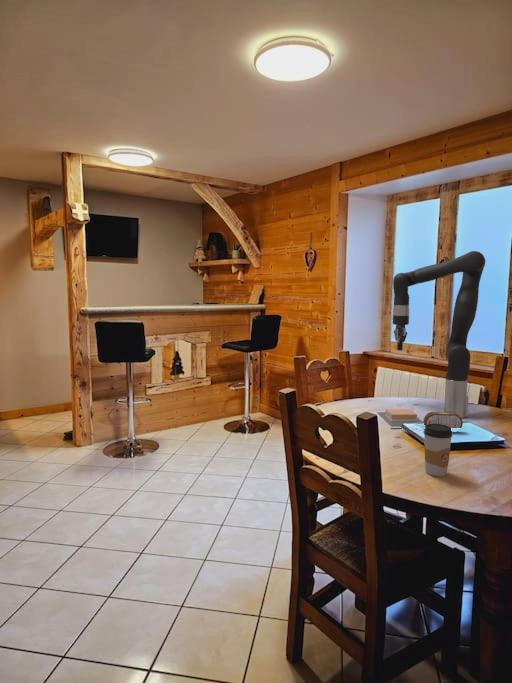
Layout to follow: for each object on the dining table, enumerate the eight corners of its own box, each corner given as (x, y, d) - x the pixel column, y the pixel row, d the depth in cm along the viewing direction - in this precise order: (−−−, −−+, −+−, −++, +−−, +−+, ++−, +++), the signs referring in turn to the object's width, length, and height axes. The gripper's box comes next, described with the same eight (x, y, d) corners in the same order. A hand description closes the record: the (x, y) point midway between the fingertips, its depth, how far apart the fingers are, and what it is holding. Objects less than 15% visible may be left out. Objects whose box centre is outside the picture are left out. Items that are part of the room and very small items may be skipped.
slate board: (410, 414, 208) (410, 412, 208) (429, 429, 186) (429, 426, 186) (376, 414, 208) (376, 412, 208) (391, 429, 186) (391, 426, 186)
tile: (409, 409, 202) (417, 414, 193) (409, 415, 202) (416, 421, 193) (385, 409, 202) (391, 414, 193) (385, 415, 202) (391, 421, 193)
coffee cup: (436, 480, 136) (438, 432, 134) (416, 470, 143) (418, 425, 142) (456, 475, 139) (458, 429, 137) (435, 466, 147) (437, 421, 145)
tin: (460, 431, 183) (461, 411, 182) (463, 434, 180) (464, 413, 179) (422, 430, 184) (423, 410, 183) (424, 432, 181) (425, 412, 180)
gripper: (413, 315, 208) (412, 351, 210) (403, 314, 221) (402, 348, 223) (397, 315, 208) (396, 352, 210) (389, 314, 221) (387, 348, 223)
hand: (399, 350), depth 217 cm, fingers closed
